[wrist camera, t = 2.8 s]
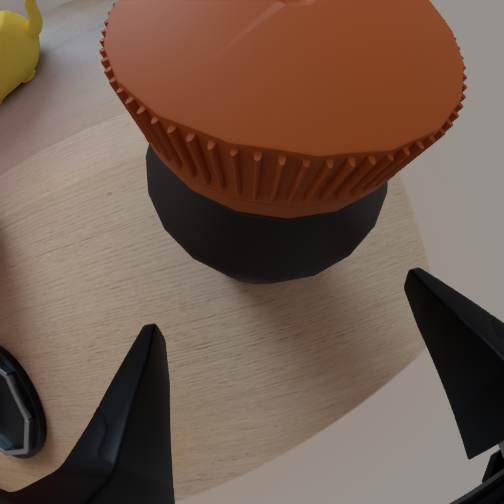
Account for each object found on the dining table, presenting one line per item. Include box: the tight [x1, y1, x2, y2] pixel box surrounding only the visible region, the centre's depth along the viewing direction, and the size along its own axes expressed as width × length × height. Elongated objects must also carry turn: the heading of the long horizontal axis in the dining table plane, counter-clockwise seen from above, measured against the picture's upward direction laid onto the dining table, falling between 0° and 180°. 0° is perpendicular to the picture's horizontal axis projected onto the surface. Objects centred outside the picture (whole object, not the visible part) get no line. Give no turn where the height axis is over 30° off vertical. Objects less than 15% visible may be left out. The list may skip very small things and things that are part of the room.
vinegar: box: [100, 0, 467, 284], centre depth 13 cm, size 7×7×20 cm
